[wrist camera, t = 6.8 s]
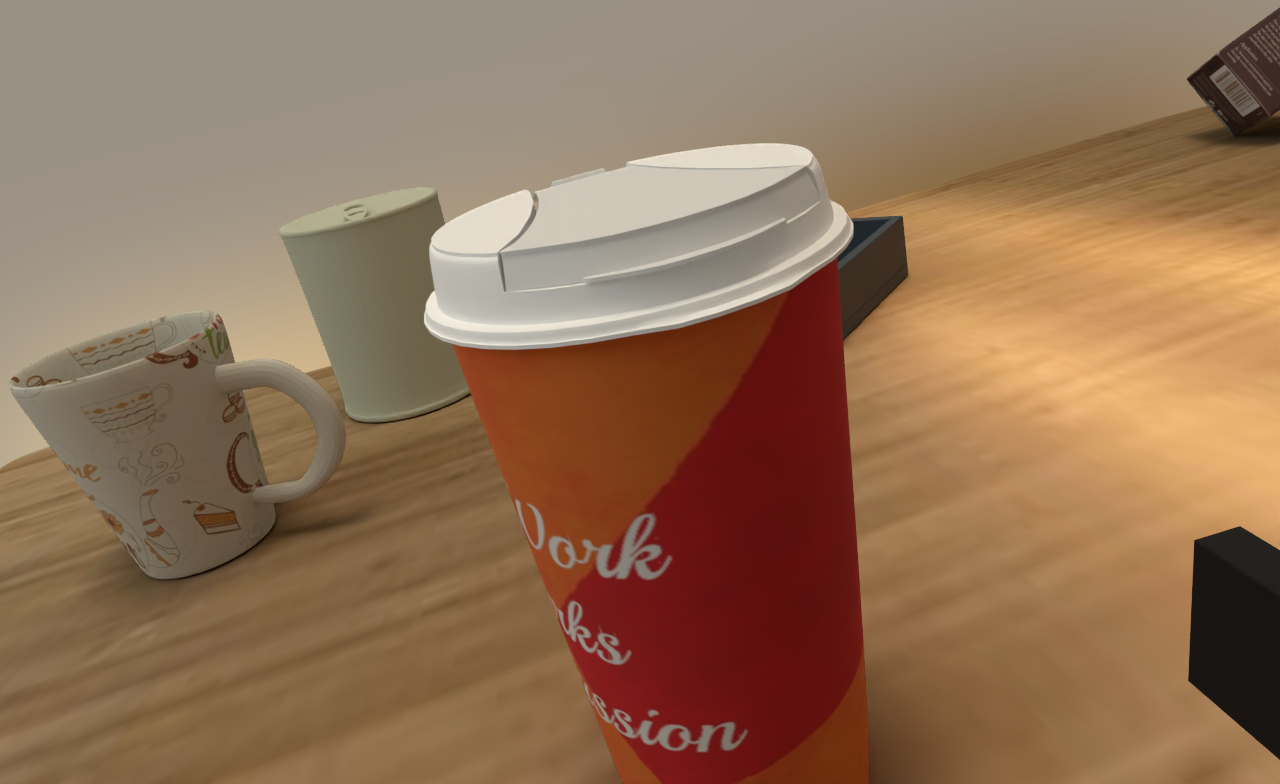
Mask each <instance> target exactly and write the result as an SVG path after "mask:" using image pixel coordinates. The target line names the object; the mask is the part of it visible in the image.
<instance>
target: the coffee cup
mask: <svg viewBox="0 0 1280 784" xmlns="http://www.w3.org/2000/svg"><path fill="white" fill-rule="evenodd" d="M533 198H534V201H535V202H537V201H539V208H538V211H537V213H536V210H535V207H534V203H533V200H532V197H531V194H530V192H529V191H527V190H526V189H525V190H523V191H519V192H517V193H514V194H511V195H508V196H505V197H503V198H500V199H497V200H495V201H492V202H490V203H487V204H484V205H482V206H480V207H478V208H475V209H473V210H471V211H469V212H467V213H465V214H463V215H461V216H459V217H457V218H455V219H453V220H452V221H450V222H448V223H447V224H445V225H443V226H442V227H441V228H440V229H439V230H437V231H436V232H435V234H434V235H433V236H432V238H431V243H430V246H429V256H430V264H431V271H432V277H433V283H434V289H435V290H434V291H433V292H432V293H431V295H430V297H429V299H428V300H427V302H426V311H425V313H424V324H425V326H426V328H427V329H428V331H429V332H430V333H431V334H432V335H433V336H435V337H437V338H438V339H440V340H442V341H444V342H448V343H452V346H453V348H454V351H455V353H456V356H457V359H458V361H459V364H460V366H461V369H462V372H463V374H464V377H465V379H466V382H467V384H468V387H469V390H470V392H471V395H472V397H473V400H474V403H475V405H476V408H477V410H478V413H479V416H480V418H481V421H482V423H483V426H484V429H485V431H486V434H487V436H488V439H489V441H490V444H491V447H492V449H493V452H494V454H495V457H496V460H497V462H498V465H499V467H500V470H501V473H502V475H503V478H504V480H505V483H506V486H507V488H508V491H509V493H510V496H511V499H512V501H513V504H514V506H515V509H516V512H517V514H518V517H519V519H520V522H521V525H522V527H523V530H524V532H525V535H526V538H527V540H528V543H529V545H530V548H531V551H532V553H533V556H534V558H535V561H536V564H537V566H538V569H539V571H540V574H541V577H542V579H543V582H544V584H545V587H546V590H547V592H548V595H549V597H550V600H551V602H552V605H553V608H554V610H555V613H556V615H557V618H558V620H559V623H560V626H561V628H562V631H563V633H564V636H565V638H566V641H567V644H568V646H569V649H570V651H571V654H572V656H573V659H574V662H575V664H576V667H577V669H578V672H579V674H580V677H581V680H582V682H583V685H584V687H585V690H586V692H587V695H588V698H589V700H590V703H591V705H592V708H593V710H594V713H595V715H596V718H597V720H598V723H599V725H600V728H601V730H602V733H603V735H604V738H605V740H606V743H607V746H608V748H609V751H610V753H611V756H612V758H613V761H614V763H615V766H616V768H617V770H618V773H619V775H620V778H621V780H622V782H623V784H869V734H868V711H867V694H866V677H865V660H864V644H863V628H862V612H861V597H860V582H859V567H858V552H857V537H856V522H855V508H854V493H853V479H852V465H851V450H850V436H849V422H848V407H847V393H846V378H845V364H844V349H843V335H842V320H841V306H840V291H839V276H838V262H837V256H838V255H840V254H841V253H842V252H843V251H844V250H845V249H846V248H847V246H848V245H849V243H850V241H851V240H852V238H853V232H854V225H853V222H852V220H851V219H850V217H849V216H848V215H847V214H846V212H845V211H844V209H843V207H842V206H840V205H838V204H837V203H835V202H833V201H831V200H830V198H829V194H828V191H827V187H826V184H825V181H824V177H823V174H822V170H821V167H820V165H819V163H818V161H817V160H816V158H815V157H814V155H812V153H811V152H810V150H808V149H806V148H804V147H800V146H796V145H790V144H775V143H773V144H772V143H770V144H769V143H767V144H766V143H765V144H764V143H763V144H741V145H730V146H720V147H711V148H705V149H696V150H690V151H683V152H677V153H671V154H665V155H660V156H655V157H649V158H644V159H639V160H635V161H630V162H626V167H624V168H620V169H617V170H612V171H609V172H606V171H605V168H601V169H598V170H594V171H590V172H586V173H583V174H579V175H575V176H571V177H568V178H564V179H560V180H557V181H553V182H552V184H551V187H550V188H547V189H543V190H540V191H536V192H535V194H534V197H533Z"/></svg>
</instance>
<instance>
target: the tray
mask: <svg viewBox="0 0 1280 784" xmlns="http://www.w3.org/2000/svg"><path fill="white" fill-rule="evenodd" d="M851 220H852V222H853V225H854V232H853V238H852V240H851V241H850V243H849V245H848V246H847V248H846V249H845V250H844V251H843V252H842V253H841V254H840V255H838V256H837V262H838V276H839V291H840V306H841V320H842V335H843V339H844V338H845V337H846V336H847V335H848V334H849V333H850V332H851V331H852V330H853V329H854V328H855V327H856V326H857V325H858V324H859V323H860V322H861V321H862V320H863V319H864V318H865V317H866V316H867V315H868V314H869V313H870V312H871V311H872V310H873V309H874V308H875V307H876V306H877V305H878V304H879V303H880V302H881V301H882V300H883V299H884V298H885V297H886V296H887V295H888V294H889V293H890V292H891V291H892V290H893V289H894V288H895V287H896V286H897V285H898V284H899V283H900V282H901V281H902V280H903V279H904V278H905V277H906V276H907V275H908V268H907V257H906V247H905V236H904V226H903V217H902V216H894V217H893V216H888V217H870V218H853V219H851Z"/></svg>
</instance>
